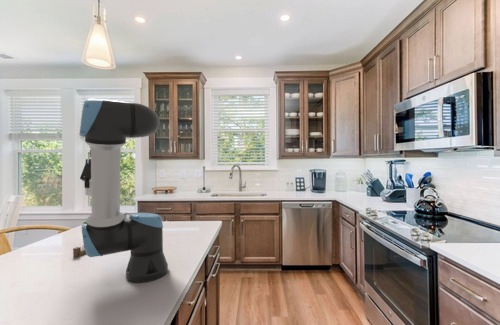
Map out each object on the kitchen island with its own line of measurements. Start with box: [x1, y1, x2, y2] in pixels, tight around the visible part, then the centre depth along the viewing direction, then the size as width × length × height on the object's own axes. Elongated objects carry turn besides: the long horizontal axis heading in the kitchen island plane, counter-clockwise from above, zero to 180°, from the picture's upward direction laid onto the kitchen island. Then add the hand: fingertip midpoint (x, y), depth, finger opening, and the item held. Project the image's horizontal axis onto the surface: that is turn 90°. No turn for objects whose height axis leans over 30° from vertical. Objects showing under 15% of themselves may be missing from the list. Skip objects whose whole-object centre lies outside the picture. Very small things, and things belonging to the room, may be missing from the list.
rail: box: [72, 246, 87, 258], centre depth 135 cm, size 37×2×4 cm, turn 169°
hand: (100, 193), depth 123 cm, fingers open, 13 cm apart
